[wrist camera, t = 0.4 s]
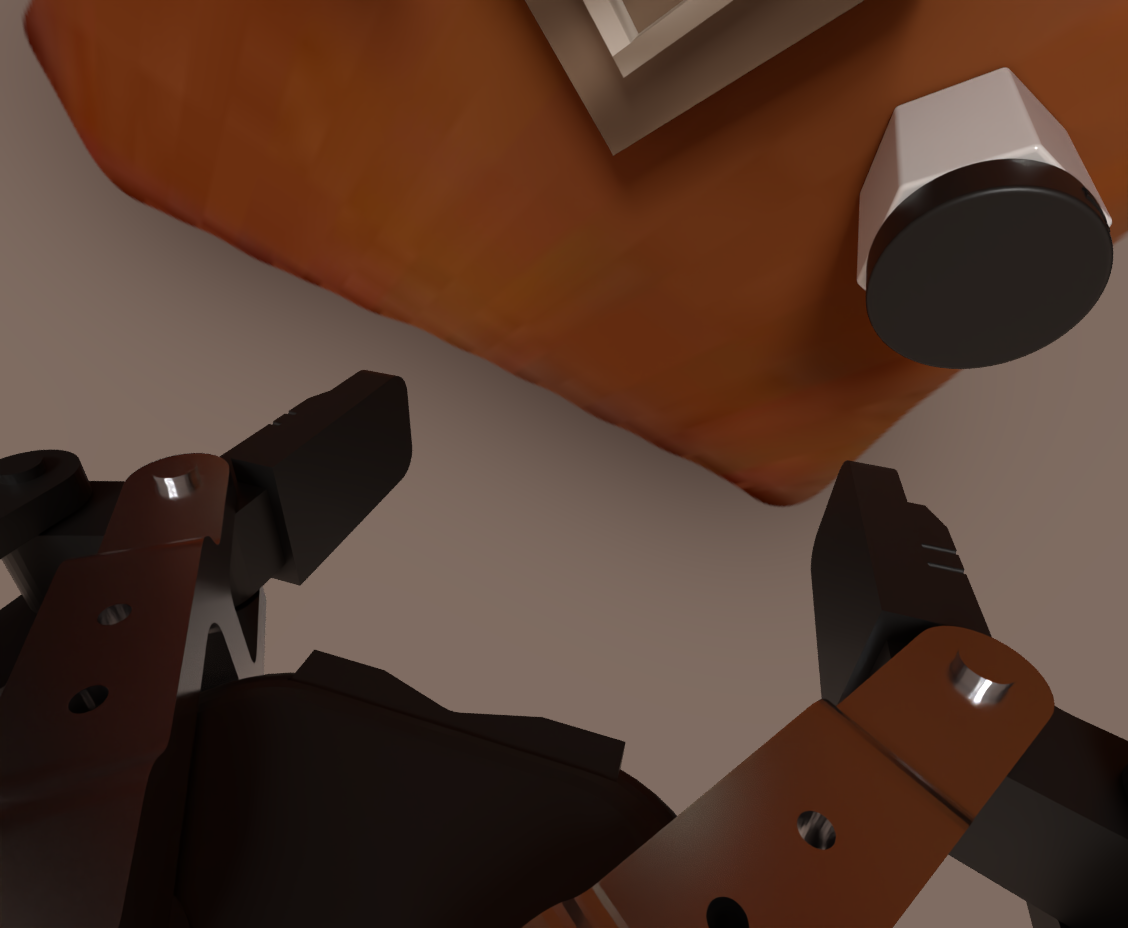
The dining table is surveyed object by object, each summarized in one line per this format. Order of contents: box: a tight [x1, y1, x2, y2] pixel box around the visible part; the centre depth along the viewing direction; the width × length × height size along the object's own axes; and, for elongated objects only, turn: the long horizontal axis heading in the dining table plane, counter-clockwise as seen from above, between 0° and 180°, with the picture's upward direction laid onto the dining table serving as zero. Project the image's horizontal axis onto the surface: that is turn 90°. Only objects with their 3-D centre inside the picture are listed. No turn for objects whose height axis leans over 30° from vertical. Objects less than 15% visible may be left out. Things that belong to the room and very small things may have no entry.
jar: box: [857, 67, 1113, 369], centre depth 28 cm, size 9×8×12 cm
